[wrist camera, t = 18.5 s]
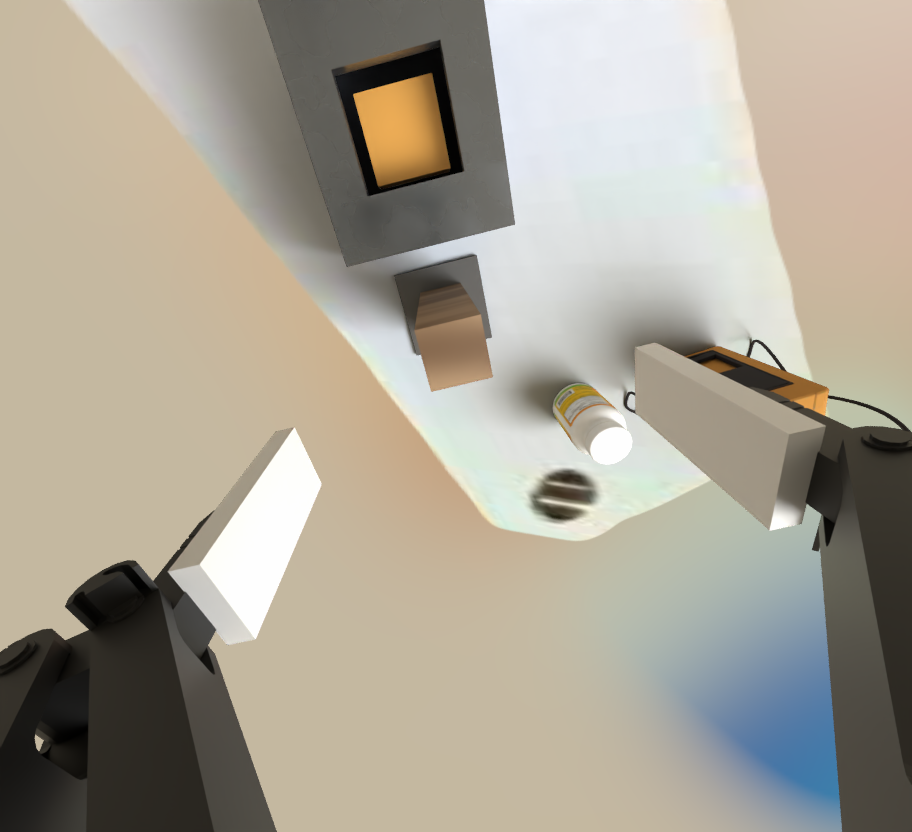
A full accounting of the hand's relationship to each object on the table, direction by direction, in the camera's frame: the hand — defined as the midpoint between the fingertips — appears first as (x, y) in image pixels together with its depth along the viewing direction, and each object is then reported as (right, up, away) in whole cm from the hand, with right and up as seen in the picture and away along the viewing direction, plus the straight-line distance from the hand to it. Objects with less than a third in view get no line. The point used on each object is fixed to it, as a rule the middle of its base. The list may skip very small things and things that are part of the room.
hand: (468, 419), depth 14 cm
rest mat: (-2, +11, +23) cm, 26 cm away
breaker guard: (-4, +22, +17) cm, 29 cm away
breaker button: (-4, +22, +16) cm, 28 cm away
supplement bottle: (+13, +2, +29) cm, 32 cm away
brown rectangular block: (-2, +11, +23) cm, 25 cm away
